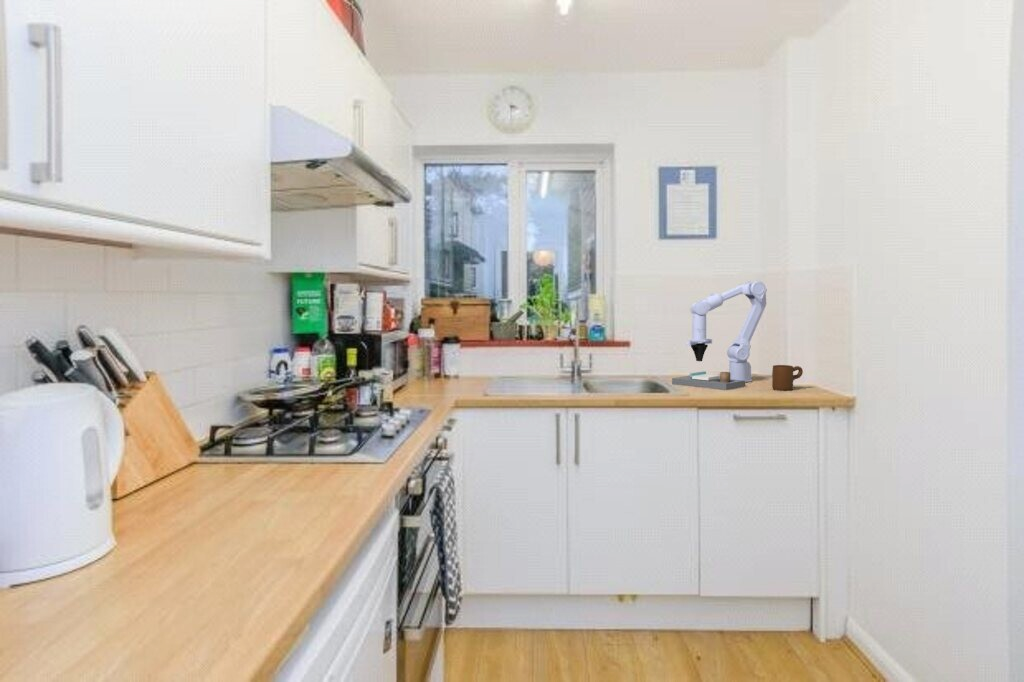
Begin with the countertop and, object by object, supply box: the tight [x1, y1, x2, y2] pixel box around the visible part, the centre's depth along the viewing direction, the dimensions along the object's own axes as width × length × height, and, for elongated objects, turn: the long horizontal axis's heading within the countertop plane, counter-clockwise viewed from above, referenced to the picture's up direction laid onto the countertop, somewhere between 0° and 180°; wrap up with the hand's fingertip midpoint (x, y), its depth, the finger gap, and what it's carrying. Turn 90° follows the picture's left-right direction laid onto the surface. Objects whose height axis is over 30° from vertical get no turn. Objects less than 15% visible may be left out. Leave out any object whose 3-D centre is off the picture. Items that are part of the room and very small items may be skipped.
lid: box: [689, 370, 720, 380], centre depth 269 cm, size 10×9×2 cm
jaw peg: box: [719, 371, 730, 382], centre depth 262 cm, size 4×4×6 cm
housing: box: [671, 375, 746, 391], centre depth 268 cm, size 14×26×3 cm, turn 39°
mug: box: [771, 364, 804, 392], centre depth 252 cm, size 12×8×9 cm, turn 96°
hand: (699, 361), depth 275 cm, fingers closed
